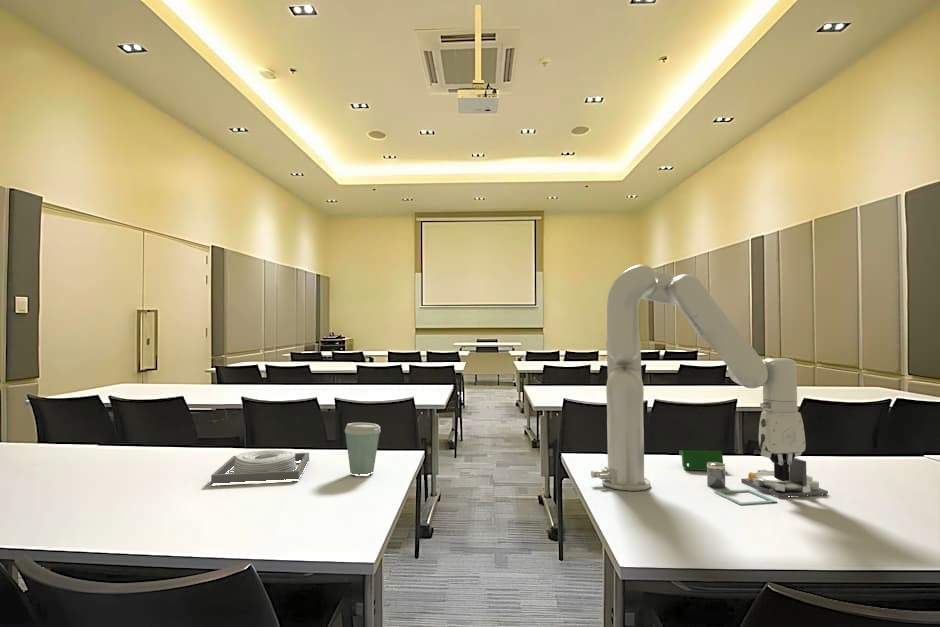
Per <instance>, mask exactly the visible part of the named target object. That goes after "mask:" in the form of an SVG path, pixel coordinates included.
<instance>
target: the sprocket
mask: <svg viewBox="0 0 940 627" xmlns="http://www.w3.org/2000/svg"><path fill="white" fill-rule="evenodd" d="M747 478H748V479H750V480H753V484H755V485H758V486H766V487H770V488H774V489H775V490H779V491H785V490H788V491H800V492H811V488H814V489H819V488H820V481H819V480H818V481H817V480H813V477H812V476H809V475H808V474H807V461H806V460H803V459H800V458H796V457H794V459H793V460H792V463H791V465H789V481H781V480H778V479H776V478H775V477H774V470H766V469H758V470H757V472H751V471H750V472H749V473H748V477H747Z"/></svg>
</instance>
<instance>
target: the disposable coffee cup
mask: <svg viewBox="0 0 940 627" xmlns="http://www.w3.org/2000/svg"><path fill="white" fill-rule="evenodd" d="M381 431H382V430H381V426H380V425H379V424H377V423H370V422H351V423H347V424H346V426H345V429H344V433H345V441H346V448H347V455H348V456H347V457H348V463H349V464H348V465H349V472H350V474H351V473H352V474H358V475H360V474H368V473H371V472H373V473H374V469H375V463H376V460H377V459H376V458H377V453H378V446H379V445H378V444H379V438H380V433H381Z"/></svg>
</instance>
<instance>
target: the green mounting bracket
mask: <svg viewBox="0 0 940 627" xmlns="http://www.w3.org/2000/svg"><path fill="white" fill-rule="evenodd" d="M678 452H679V453H678V454H679V456H681V462H682V463H681V465H682V467H683V468H684V470H690V471H707V463H708V462H719V463H723V464H724V456H723V451H722V450H720V451H719V450H688V449H685V450H683V449H682V450H679V451H678Z"/></svg>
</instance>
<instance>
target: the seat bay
mask: <svg viewBox="0 0 940 627" xmlns="http://www.w3.org/2000/svg"><path fill="white" fill-rule="evenodd" d="M736 493H737V494H738V493H739V494H740V493H750V494H752V495H754V494H755V495H754V496H756V495H757V497H759V496H760V497H759V498H761V497H762V498H761V499H763V498H765V499H767V500H765V499H764V500H759V501H755V500H754V501H744V502H741V501H739V500H737V499H735V498H733V497H731V496H729V495H726V494H736ZM714 494H717V495H718V496H719V497H720V496H721V497H722V498H725V499H727V500H728V501H730V500H731V502H732V501H733V502H732V503H734V502H735V503H734V504H736V505H739V506H749V505H750V506H751V505H752V506H753V505H763V503H767V504H773V503H772V502H777V503H778V501H777V500H775V499H772V498H770V497H767V496H765V495H764V494H761V493H758V492H756V491H753V490H751V489H733V490H719V491H717V490H716V491H714ZM768 500H769V501H768Z"/></svg>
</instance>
